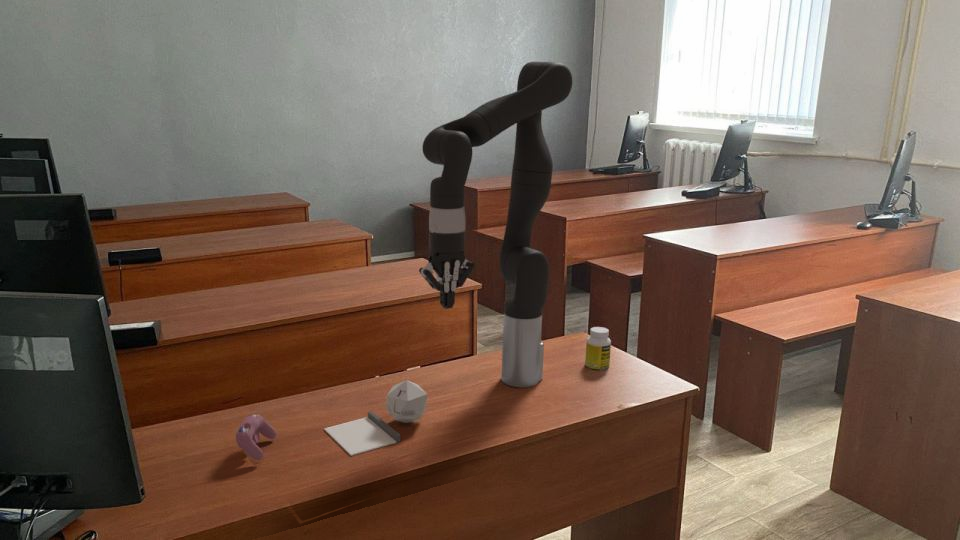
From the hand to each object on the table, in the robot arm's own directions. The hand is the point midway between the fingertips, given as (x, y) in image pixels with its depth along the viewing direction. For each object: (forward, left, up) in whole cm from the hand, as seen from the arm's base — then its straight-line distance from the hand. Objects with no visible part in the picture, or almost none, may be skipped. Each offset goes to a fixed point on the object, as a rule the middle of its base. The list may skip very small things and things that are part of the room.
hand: (447, 307), depth 154 cm
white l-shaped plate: (+21, 0, -24) cm, 32 cm away
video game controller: (+40, -5, -25) cm, 47 cm away
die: (+10, 0, -25) cm, 27 cm away
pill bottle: (-46, 0, -25) cm, 52 cm away
